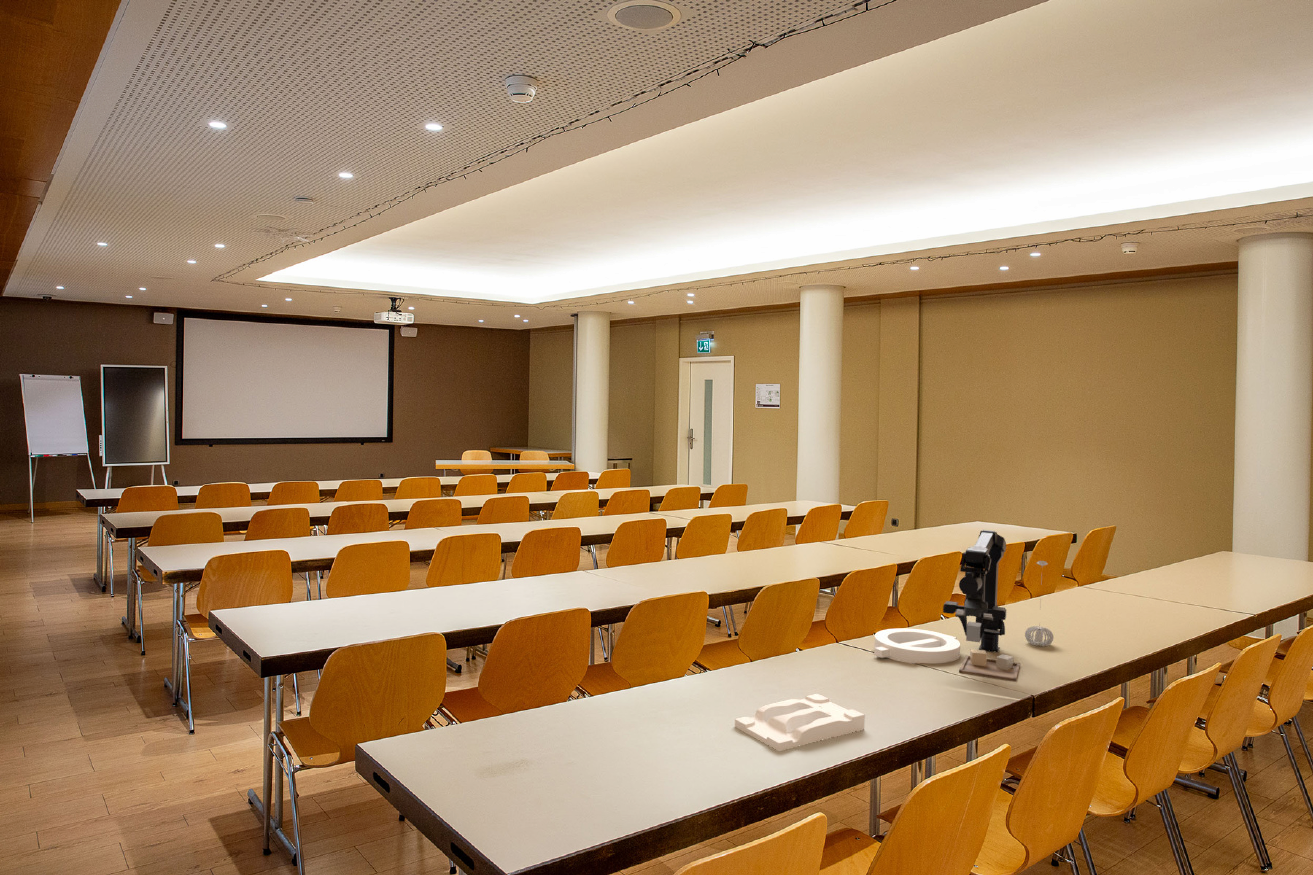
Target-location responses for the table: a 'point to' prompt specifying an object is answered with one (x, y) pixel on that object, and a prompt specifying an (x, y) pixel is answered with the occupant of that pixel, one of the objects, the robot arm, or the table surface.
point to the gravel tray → (989, 670)
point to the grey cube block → (973, 632)
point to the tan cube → (978, 657)
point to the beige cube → (1004, 662)
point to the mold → (800, 722)
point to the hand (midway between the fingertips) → (973, 636)
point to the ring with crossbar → (916, 646)
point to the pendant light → (1039, 628)
